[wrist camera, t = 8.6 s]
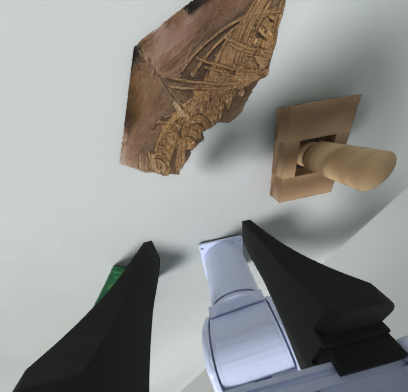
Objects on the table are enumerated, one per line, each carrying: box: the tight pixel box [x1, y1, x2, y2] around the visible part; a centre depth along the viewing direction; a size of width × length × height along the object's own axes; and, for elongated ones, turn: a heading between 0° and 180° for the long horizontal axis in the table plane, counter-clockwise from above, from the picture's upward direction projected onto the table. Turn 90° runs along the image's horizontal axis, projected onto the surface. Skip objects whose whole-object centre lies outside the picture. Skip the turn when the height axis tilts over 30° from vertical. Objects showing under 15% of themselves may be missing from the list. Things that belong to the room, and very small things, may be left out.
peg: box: [297, 140, 396, 191], centre depth 16 cm, size 4×4×9 cm
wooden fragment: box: [120, 0, 285, 176], centre depth 15 cm, size 26×11×1 cm, turn 133°
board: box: [270, 94, 361, 203], centre depth 19 cm, size 12×8×2 cm, turn 9°
